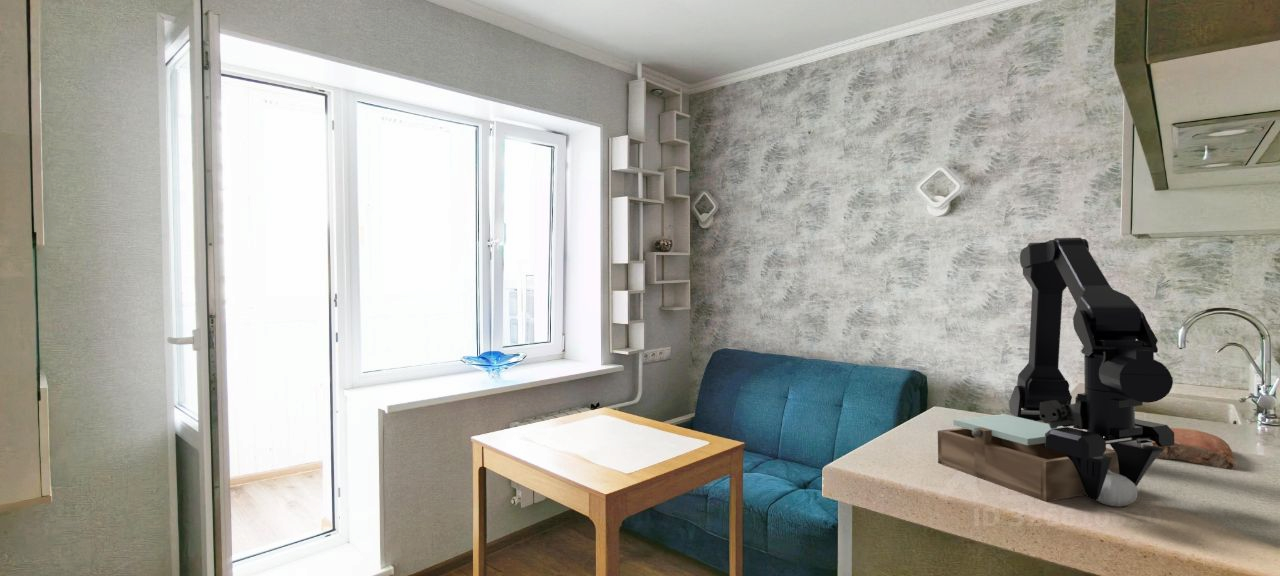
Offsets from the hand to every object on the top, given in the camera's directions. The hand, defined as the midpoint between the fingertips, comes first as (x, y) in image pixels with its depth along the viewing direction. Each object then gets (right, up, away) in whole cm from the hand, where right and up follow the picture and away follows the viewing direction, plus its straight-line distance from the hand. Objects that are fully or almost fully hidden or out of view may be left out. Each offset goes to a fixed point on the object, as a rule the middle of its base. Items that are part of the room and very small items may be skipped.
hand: (1110, 496), depth 86 cm
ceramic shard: (+31, -1, +24) cm, 39 cm away
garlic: (0, -1, 0) cm, 1 cm away
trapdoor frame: (-4, -1, +13) cm, 14 cm away
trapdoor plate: (-5, +6, +14) cm, 16 cm away
